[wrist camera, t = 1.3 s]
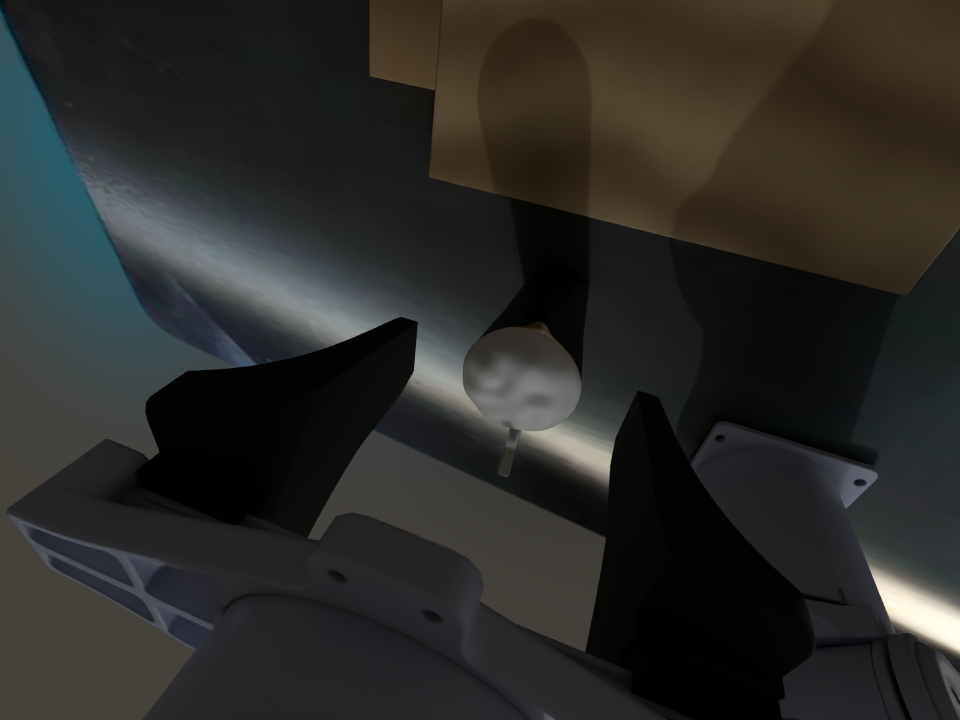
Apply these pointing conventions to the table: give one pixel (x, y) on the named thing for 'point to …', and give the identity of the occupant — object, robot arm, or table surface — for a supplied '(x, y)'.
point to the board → (703, 118)
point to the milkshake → (531, 357)
